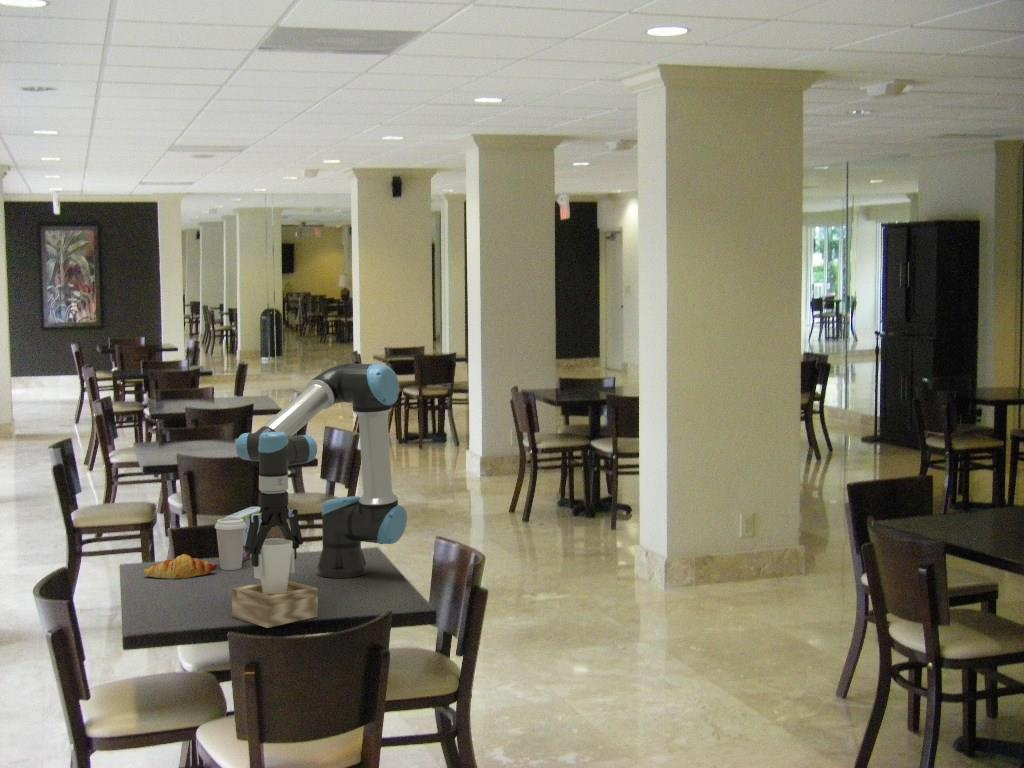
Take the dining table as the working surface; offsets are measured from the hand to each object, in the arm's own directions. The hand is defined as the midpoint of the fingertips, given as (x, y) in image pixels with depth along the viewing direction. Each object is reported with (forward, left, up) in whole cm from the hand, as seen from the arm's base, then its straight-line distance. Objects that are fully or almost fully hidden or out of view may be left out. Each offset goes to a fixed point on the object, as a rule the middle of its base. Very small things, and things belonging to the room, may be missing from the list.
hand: (274, 575), depth 325 cm
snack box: (-36, -68, -11) cm, 78 cm away
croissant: (-8, -60, -11) cm, 61 cm away
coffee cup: (-24, -58, -11) cm, 64 cm away
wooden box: (0, 0, -11) cm, 11 cm away
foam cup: (0, 0, -4) cm, 4 cm away
